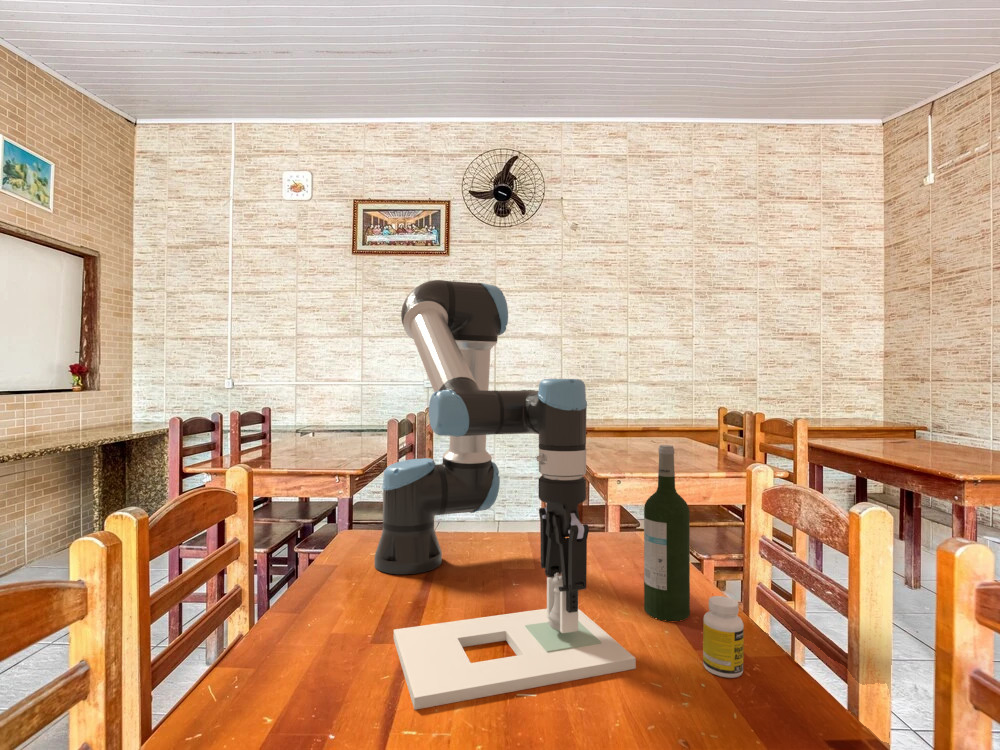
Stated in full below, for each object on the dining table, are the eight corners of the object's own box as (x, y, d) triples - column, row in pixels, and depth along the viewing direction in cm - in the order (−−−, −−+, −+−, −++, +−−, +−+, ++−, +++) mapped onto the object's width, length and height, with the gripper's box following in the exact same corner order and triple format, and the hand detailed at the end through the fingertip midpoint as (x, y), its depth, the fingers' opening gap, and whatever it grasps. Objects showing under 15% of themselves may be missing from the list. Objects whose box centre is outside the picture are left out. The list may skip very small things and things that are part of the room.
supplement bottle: (740, 683, 75) (740, 611, 75) (699, 672, 77) (699, 603, 78) (746, 666, 79) (746, 598, 79) (707, 656, 82) (707, 591, 82)
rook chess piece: (579, 622, 87) (579, 571, 87) (573, 634, 83) (573, 581, 83) (551, 618, 88) (551, 568, 89) (545, 629, 84) (545, 578, 84)
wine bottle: (697, 612, 98) (696, 445, 98) (678, 626, 92) (677, 449, 93) (656, 600, 103) (656, 442, 104) (635, 613, 97) (635, 445, 98)
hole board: (393, 639, 87) (393, 628, 87) (573, 613, 97) (573, 603, 97) (414, 709, 68) (414, 696, 68) (635, 668, 78) (635, 656, 78)
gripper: (520, 468, 93) (520, 605, 93) (564, 486, 77) (564, 653, 76) (560, 466, 96) (560, 600, 95) (611, 483, 79) (611, 645, 78)
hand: (562, 623), depth 86 cm, fingers closed on rook chess piece, 4 cm apart
